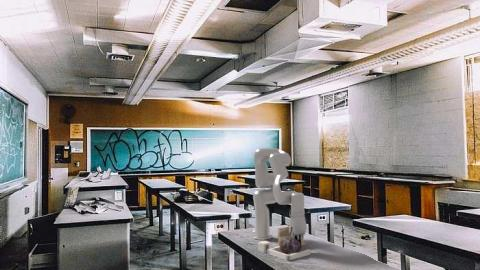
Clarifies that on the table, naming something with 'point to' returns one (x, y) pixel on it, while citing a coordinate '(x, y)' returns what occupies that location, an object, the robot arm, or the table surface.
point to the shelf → (286, 236)
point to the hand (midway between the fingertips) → (298, 246)
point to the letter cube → (263, 246)
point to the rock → (290, 246)
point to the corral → (277, 253)
